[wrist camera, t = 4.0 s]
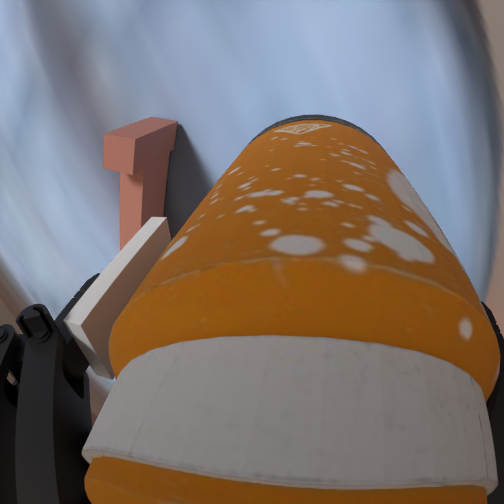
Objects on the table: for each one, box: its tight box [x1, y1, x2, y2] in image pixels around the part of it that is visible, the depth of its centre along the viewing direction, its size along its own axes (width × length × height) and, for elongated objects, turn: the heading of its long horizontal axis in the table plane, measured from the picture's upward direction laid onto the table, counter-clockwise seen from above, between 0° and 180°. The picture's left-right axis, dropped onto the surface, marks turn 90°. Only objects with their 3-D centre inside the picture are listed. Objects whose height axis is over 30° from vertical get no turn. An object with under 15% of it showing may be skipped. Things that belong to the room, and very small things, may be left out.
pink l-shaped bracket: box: [103, 117, 178, 251], centre depth 22 cm, size 2×13×6 cm, turn 167°
